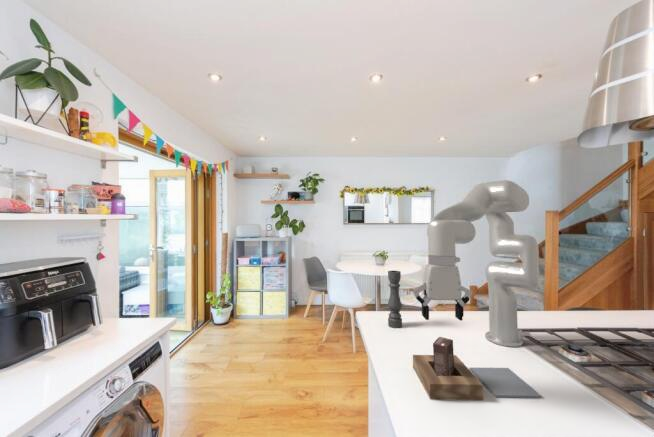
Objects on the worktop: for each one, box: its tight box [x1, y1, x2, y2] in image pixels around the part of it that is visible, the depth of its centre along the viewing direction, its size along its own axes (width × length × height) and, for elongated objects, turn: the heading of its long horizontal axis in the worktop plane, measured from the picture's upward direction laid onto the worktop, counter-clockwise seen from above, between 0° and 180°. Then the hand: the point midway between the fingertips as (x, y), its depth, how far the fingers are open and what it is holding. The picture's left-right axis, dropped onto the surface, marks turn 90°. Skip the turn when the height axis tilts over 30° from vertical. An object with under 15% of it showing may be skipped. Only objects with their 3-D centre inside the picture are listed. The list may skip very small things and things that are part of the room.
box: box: [432, 336, 455, 376], centre depth 80 cm, size 6×4×12 cm
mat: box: [469, 367, 543, 399], centre depth 79 cm, size 12×14×1 cm
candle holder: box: [387, 270, 403, 329], centre depth 124 cm, size 6×6×25 cm
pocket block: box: [412, 354, 484, 401], centre depth 79 cm, size 14×16×4 cm
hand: (442, 318), depth 80 cm, fingers open, 9 cm apart
